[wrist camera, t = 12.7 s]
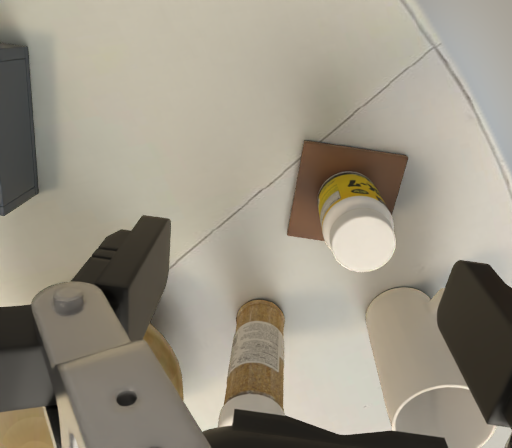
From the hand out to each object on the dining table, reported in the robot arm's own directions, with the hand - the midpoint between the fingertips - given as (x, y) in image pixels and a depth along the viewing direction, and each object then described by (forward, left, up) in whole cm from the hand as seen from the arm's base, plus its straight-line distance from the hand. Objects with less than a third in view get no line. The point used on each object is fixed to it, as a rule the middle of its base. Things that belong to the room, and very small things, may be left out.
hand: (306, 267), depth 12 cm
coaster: (+6, +5, -23) cm, 24 cm away
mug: (+14, +13, -23) cm, 30 cm away
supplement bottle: (+5, +5, -22) cm, 24 cm away
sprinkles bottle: (+18, 0, -23) cm, 30 cm away
